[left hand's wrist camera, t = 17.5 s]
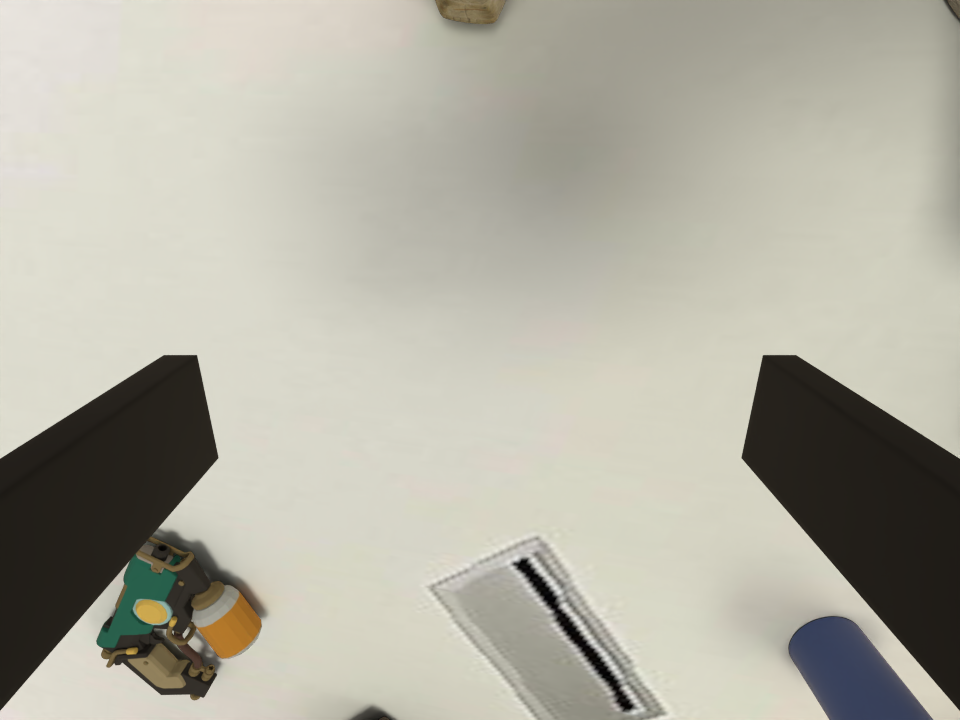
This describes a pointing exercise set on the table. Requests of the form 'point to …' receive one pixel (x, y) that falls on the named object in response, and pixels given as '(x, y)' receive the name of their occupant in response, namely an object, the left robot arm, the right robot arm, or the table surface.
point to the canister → (851, 674)
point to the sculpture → (471, 10)
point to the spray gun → (175, 621)
